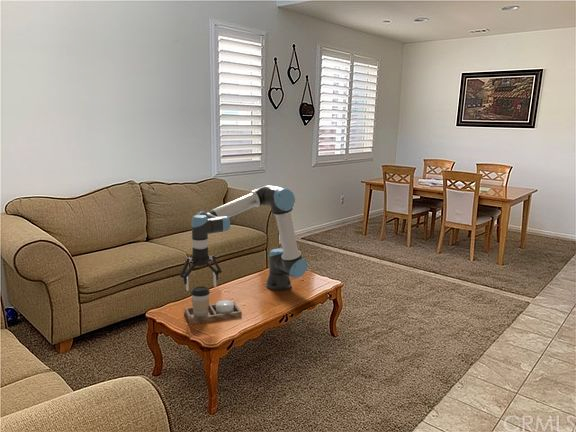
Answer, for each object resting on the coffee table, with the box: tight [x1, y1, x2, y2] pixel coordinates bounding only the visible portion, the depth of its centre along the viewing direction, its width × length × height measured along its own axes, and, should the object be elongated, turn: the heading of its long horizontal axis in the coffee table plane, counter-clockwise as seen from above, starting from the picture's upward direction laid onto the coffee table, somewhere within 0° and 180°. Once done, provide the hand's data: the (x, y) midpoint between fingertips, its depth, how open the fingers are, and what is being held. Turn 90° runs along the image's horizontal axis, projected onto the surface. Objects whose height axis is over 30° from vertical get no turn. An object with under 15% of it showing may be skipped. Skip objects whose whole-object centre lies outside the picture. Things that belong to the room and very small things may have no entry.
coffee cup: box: [190, 286, 211, 318], centre depth 220 cm, size 9×9×15 cm
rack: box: [184, 301, 243, 325], centre depth 224 cm, size 26×14×4 cm, turn 112°
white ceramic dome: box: [215, 299, 234, 314], centre depth 226 cm, size 9×9×5 cm
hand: (201, 288), depth 219 cm, fingers open, 13 cm apart
